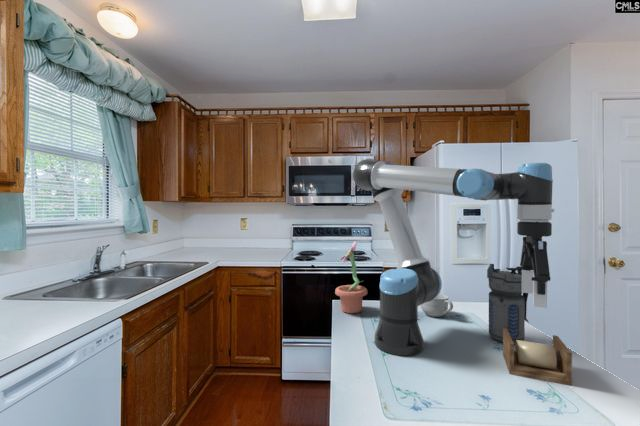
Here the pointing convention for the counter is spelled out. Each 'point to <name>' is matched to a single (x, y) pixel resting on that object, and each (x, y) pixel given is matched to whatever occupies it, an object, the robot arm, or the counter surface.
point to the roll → (535, 354)
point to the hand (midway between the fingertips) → (533, 299)
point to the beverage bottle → (506, 303)
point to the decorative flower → (351, 289)
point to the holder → (558, 375)
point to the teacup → (437, 306)
